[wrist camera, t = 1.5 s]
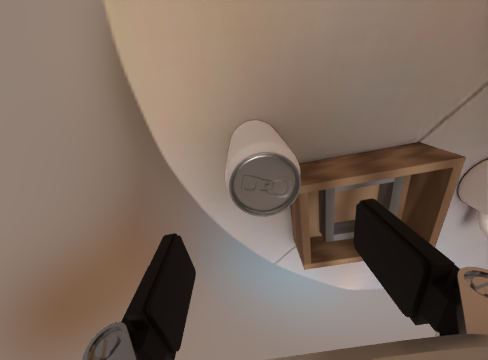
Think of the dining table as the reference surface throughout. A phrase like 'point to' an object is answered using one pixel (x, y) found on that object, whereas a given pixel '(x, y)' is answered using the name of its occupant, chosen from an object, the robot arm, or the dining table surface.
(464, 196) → the mug
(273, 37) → the dining table surface
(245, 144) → the can
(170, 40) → the dining table surface
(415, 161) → the bin
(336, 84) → the dining table surface
